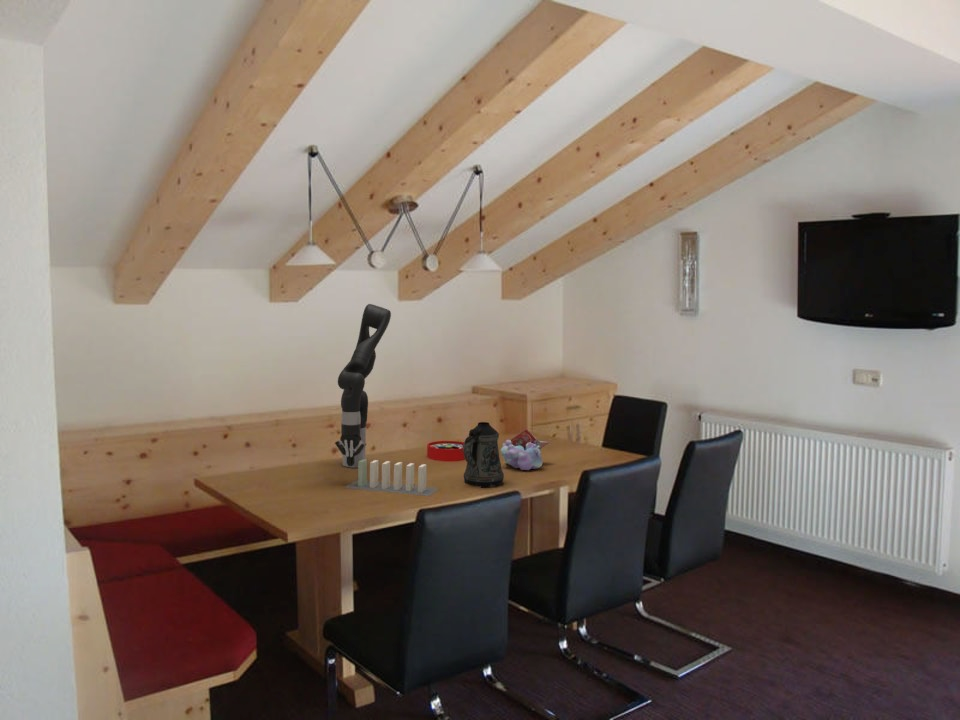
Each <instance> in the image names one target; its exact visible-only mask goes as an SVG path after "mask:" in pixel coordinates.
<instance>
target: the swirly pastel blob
mask: <svg viewBox="0 0 960 720" xmlns="http://www.w3.org/2000/svg"><path fill="white" fill-rule="evenodd" d="M548 444H550V442H547V441H543V440H539V439H537V438H536V437H535V435H534V434H532V433H531V432H530V431H529V430H528V429H525V430H523V431H522V432H520V433H519V434H517V435H516V436H514V437H513V438H511V439H506V440H505V442H502V445H501V446H502V447H501V449H500V450H499V454H501V456H502V457H503V460H504V461H505V463H506V464H507V465H510V466H511V467H513V468H514V469H518V468H519V469H520V470H521V471H523V470H528V471H530V470H537V469H539V468H540V467H542V465H543V462H544V461H543V458H542V451H541V449H542V448H544V447H545V446H547V445H548Z"/></svg>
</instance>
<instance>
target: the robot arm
mask: <svg viewBox="0 0 960 720" xmlns="http://www.w3.org/2000/svg"><path fill="white" fill-rule="evenodd" d="M391 316H392V313H391V310H390V309H387V308H384V307H383V306H379V305H376V304H373V303H368V304H367V305H366V306H365V308H364V310H363V312H362V317H361V323H360V329H359V334H358V338H357V343H356V346H355V349H354V351H353V354H352V355H351V358H350V361H348V362H347V364H346V365H345V366H344V368H342V370H341V371H340V373H339V375H338V378H337V385H338V387H339V389H342V390H343V392H342V394H341V397H340V398H341V399H340V408H341V417H340V419H341V420H340V422H341V423H340V424H341V425H340V426H341V427H340V428H341V430H340V431H341V435H340V439H339V440H337V441H335V443H334V444H335V445H336V447H337V449H338V450H339V452H340V453H341V455H342V467H345V468H346V467H347V468H353V469H354V468H355V469H357V468H358V462H359V461H360V460H362V459H367V458H366V456H367V455H366V454H367V450H366V448H367V447H366V446H367V443H366V442H367V421H368V412H369V411H368V410H369V409H368V408H369V397H368V394H367V392H366V391H365V390H364V388H365V384H366V381H365V379H367V377H368V376H369V375H370V374H372V373H371V372H372V371H373V369H374V365H375V362H376V359H377V358H376V357H377V356H376V355H377V353H376V348H377V346H378V344H379V343H380V340H381V339H382V337H384V334H385V332H386V330H387V328H388V326H389V324H390V321H391V318H392V317H391ZM370 328H371V329H375V332H374V333H373V334H371V335H370Z"/></svg>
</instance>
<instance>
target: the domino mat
mask: <svg viewBox="0 0 960 720" xmlns="http://www.w3.org/2000/svg"><path fill="white" fill-rule="evenodd" d="M344 489H353V490H362V491H374V492H383V493H395V494H405V495H412V496H413V495H417V496H427V497H430V496H432V495H433V494H435V492H437V491H438V490H439V487H428V486H426V490H425V491H423V492H422V493H420V492H418V485H414V489H412V490H411V491H406V484H402V488H400V489H399V490H394V483H390V487H388V488H386V489H382V482H378V486H376V487H374V488H370V481H367V484H366V485H364V486H362V487H358V480H355V481H353V482H351V483H350V484H348V485H346V486H345V487H344Z"/></svg>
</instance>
